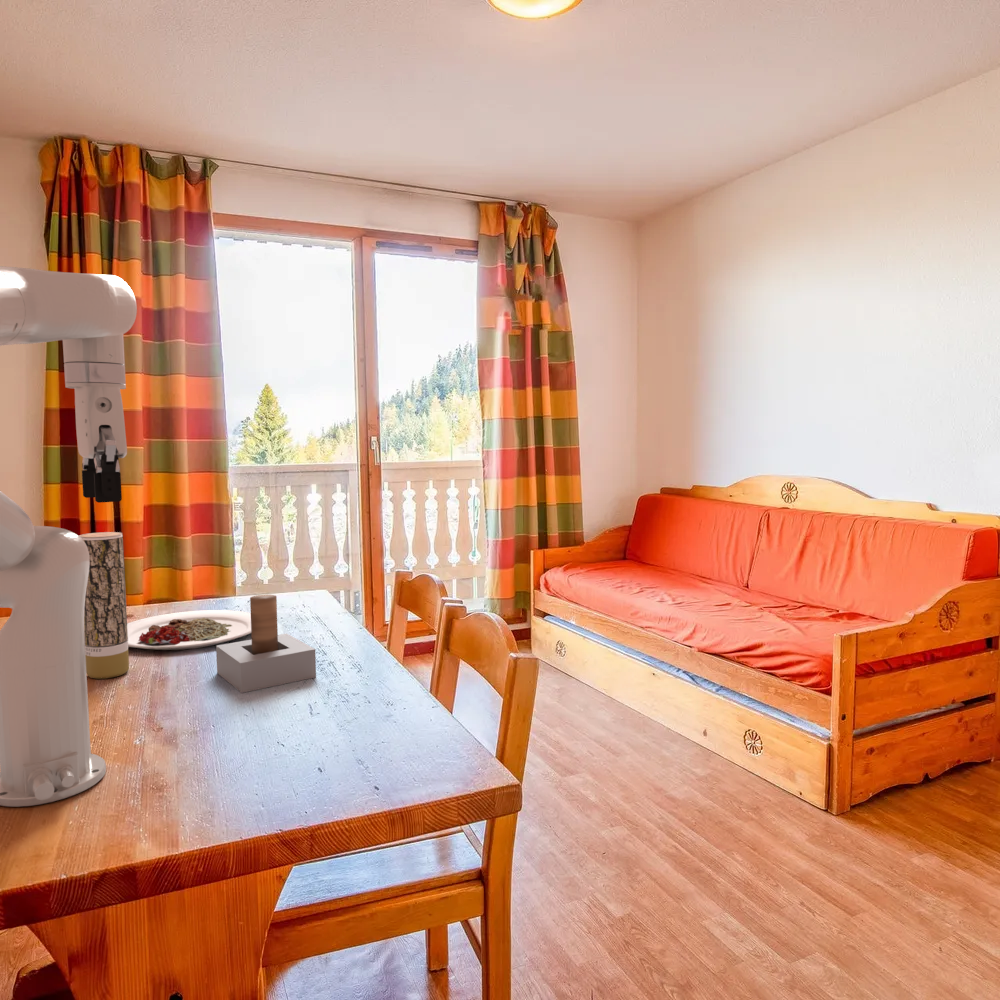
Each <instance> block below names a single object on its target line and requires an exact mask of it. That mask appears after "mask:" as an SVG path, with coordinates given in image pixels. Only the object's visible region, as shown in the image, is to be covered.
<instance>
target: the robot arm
mask: <svg viewBox="0 0 1000 1000" xmlns="http://www.w3.org/2000/svg"><path fill="white" fill-rule="evenodd" d="M137 304H138V303H137V300H136V297H135V294H134V292H133V290H132V289H131V287H130V286H129V285H128V283H127V282H126V281H124V279H123V278H121V277H119V276H117V275H115V274H114V275H113V274H98V273H97V274H96V273H81V272H80V273H79V272H65V271H64V272H63V271H54V270H52V271H51V270H45V269H35V268H26V267H17V266H2V265H0V347H1V346H10V345H12V346H13V345H28V344H29V345H30V344H32V345H33V344H41V343H50V342H56V341H58V342H59V341H62V349H63V350H62V351H63V363H64V364H63V367H64V368H63V369H64V385H65V388H67V389H74V406H75V408H74V410H75V411H74V412H75V430H76V440H77V441H76V442H77V450H78V454H79V456H81V457H82V461H81V462H82V464H81V465H82V466H81V467H82V470H81V480H82V481H81V482H82V496H83V497H84V498H86V499H87V498H89V499H90V498H94V501H95V502H96V503H100V504H101V503H116V502H121V501H122V500H123V499H122V498H123V497H122V496H123V495H122V479H121V478H122V477H121V476H122V475H121V467H120V463H119V459H124V458H125V457H126V456H127V455H128V446H127V436H126V425H125V423H126V422H125V415H124V407H123V406H124V405H123V399H122V393H121V390H126V389H127V386H126V385H127V383H126V382H127V381H126V362H125V341H124V334H126V333H127V332H129V331H130V330H131V328H132V327H133V325H134V324H135V321H136V318H137V314H138V309H137V308H138V306H137ZM89 566H90V557H89V551H88V548H87V545H86V544H85V542H84V541H83V540H82V538H81V537H79V535H78V534H77V533H75V532H73V531H71V530H68V529H66V528H63V527H62V528H61V527H57V526H56V527H55V526H46V525H34V524H33V522H32V520H31V518H30V517H29V515H28V514H27V512H25V510H24V509H23V508H22V507H21V506H20V505H19V504H18V503H17V502H15V500H13V499H12V498H10V497H9V496H8V495H7V494H6V493H4V492H3V491H1V490H0V608H6V609H7V608H9V609H11V614H10V616H9V618H8V619H7V621H6V622H5V623H4V625H2V627H1V629H0V806H2V807H11V808H12V807H13V808H15V807H18V808H19V807H20V808H21V807H31V806H39V805H43V804H44V805H45V804H49V803H53V802H56V801H59V800H64V799H67V798H70V797H73V796H75V795H77V794H80V793H82V792H84V791H86V790H88V789H90V788H92V787H93V786H94V785H96V784H97V783H98V782H99V781H100V780H102V779H103V778H104V777H105V774H106V772H107V771H106V769H107V766H106V765H107V764H106V760H105V759H104V758H103V757H101V756H100V755H97V754H94V753H92V752H91V751H92V750H91V749H92V747H91V732H90V730H91V729H90V714H89V713H90V712H89V711H90V710H89V697H88V693H89V692H88V680H87V679H88V678H87V677H88V675H87V673H86V656H85V637H84V607H85V596H86V588H87V581H88V575H89Z"/></svg>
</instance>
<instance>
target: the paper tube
mask: <svg viewBox="0 0 1000 1000" xmlns="http://www.w3.org/2000/svg"><path fill="white" fill-rule="evenodd" d="M78 536H79V537H81V538H82V540H83V541H84V542H85V544H86V545H87V548H88V551H89V557H90V566H89V575H88V581H87V588H86V596H85V607H84V637H85V656H86V674H87V677H89V678H91V679H97V680H102V679H112V678H116V677H119V676H122V675H124V674H126V673H128V671H129V669H130V660H129V659H130V658H129V647H128V632H127V623H128V620H127V619H128V616H127V614H128V613H127V596H126V592H127V591H126V580H125V579H126V577H125V575H126V574H125V556H124V553H125V552H124V539H123V537H124V535H123V532H121V531H119V532H118V531H117V532H116V531H111V532H110V531H104V532H91V533H83V534H80V535H78Z"/></svg>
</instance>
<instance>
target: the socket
mask: <svg viewBox="0 0 1000 1000" xmlns="http://www.w3.org/2000/svg"><path fill="white" fill-rule="evenodd" d="M215 647H216V650H215V651H216V652H215V654H216V674H218V675H219V676H220V677H221V678H223V679H224V680H225V681H227V682H228V683H229V684H230V685H231V686H232V687H234V688H235V689H236V690H237V691H239V692H240V693H241V694H243V693H249V692H252V691H257V690H261V689H267V688H271V687H276V686H281V685H284V684H291V683H295V682H300V681H302V680H304V681H305V680H308V679H314V678H316V677H317V663H316V661H317V659H316V657H317V656H316V648H314V647H312V646H310V645H308V644H307V643H305V642H303V641H301V640H299V639H298V638H296V637H294V636H292V635H290V634H289V633H282V634H278V651H272V652H267V653H261V654H256V655H253V654H252V639H246V640H241V641H235V642H230V643H229V642H227V643H222V644H216V645H215Z"/></svg>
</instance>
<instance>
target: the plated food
mask: <svg viewBox="0 0 1000 1000" xmlns="http://www.w3.org/2000/svg"><path fill="white" fill-rule="evenodd" d="M127 632H128V648H135V649H136V648H137V649H143V650H145V649H146V650H153V651H154V650H156V651H157V650H158V651H159V650H160V651H169V650H171V651H173V650H176V651H177V650H187V649H189V650H190V649H196V648H203V647H208V646H209V647H210V646H214V645H215V646H216V645H220V644H225V643H226V642H227V643H228V642H229V641H233V640H235V639H238V638H242V637H245V636H247V635H249V634H251V612H248V611H242V610H241V611H240V610H229V609H209V610H208V609H204V610H203V609H202V610H189V611H181V612H179V611H178V612H173V613H166V614H159V615H153V616H149V617H145V618H141V619H137V620H134V621H130V622H127Z"/></svg>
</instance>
